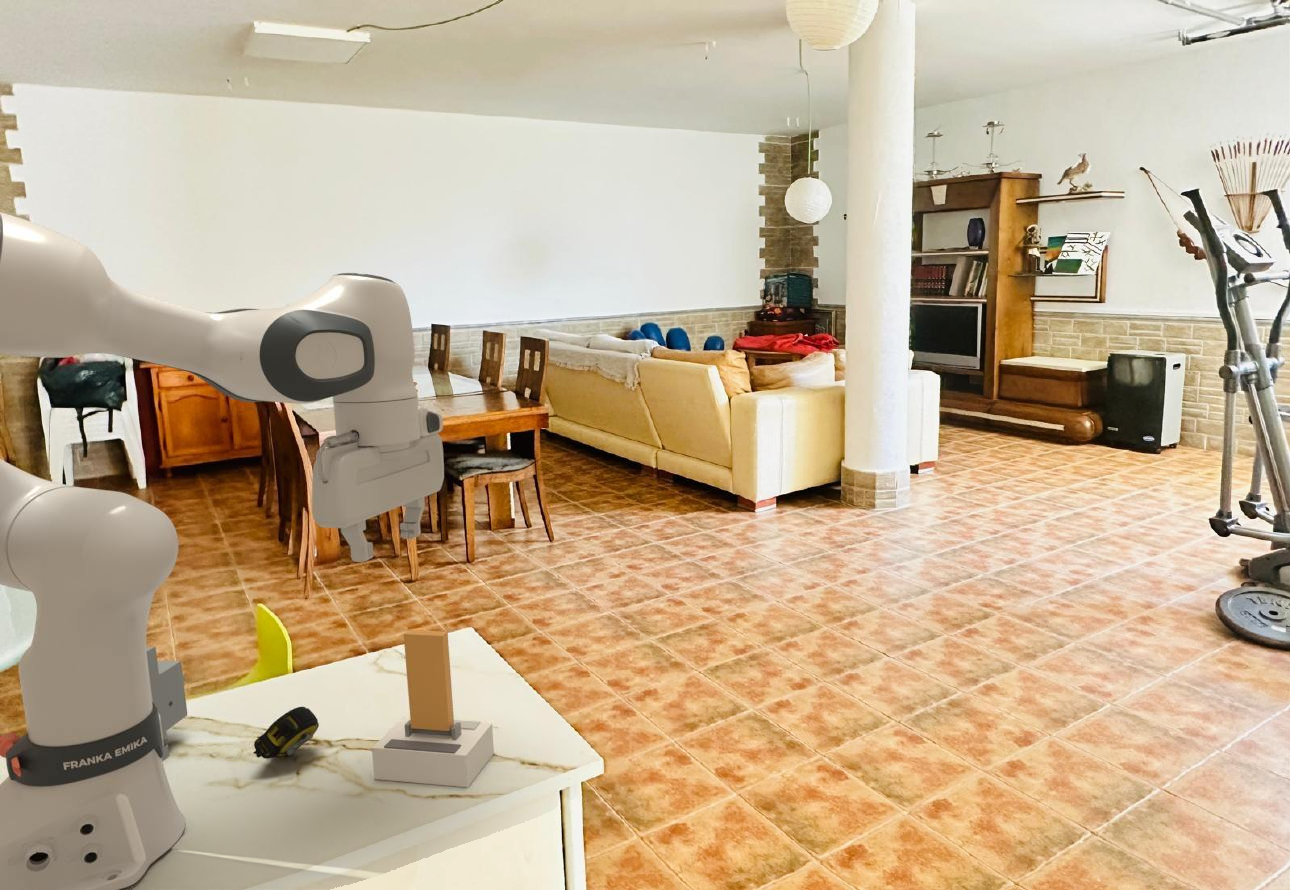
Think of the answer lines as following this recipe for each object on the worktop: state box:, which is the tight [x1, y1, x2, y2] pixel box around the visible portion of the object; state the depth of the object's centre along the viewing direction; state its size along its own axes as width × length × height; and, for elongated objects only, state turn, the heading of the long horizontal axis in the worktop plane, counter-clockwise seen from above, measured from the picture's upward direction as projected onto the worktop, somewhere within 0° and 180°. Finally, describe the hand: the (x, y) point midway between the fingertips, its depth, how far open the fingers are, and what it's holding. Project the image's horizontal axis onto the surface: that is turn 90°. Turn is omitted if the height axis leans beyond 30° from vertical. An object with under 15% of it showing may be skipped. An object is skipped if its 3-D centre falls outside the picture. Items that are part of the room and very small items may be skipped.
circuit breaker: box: [146, 646, 188, 762], centre depth 110 cm, size 8×14×15 cm, turn 174°
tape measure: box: [253, 706, 320, 760], centre depth 109 cm, size 7×7×4 cm
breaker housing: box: [371, 716, 495, 788], centre depth 107 cm, size 8×12×6 cm, turn 78°
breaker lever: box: [403, 629, 455, 736], centre depth 106 cm, size 1×5×13 cm, turn 78°
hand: (388, 548), depth 98 cm, fingers open, 8 cm apart
